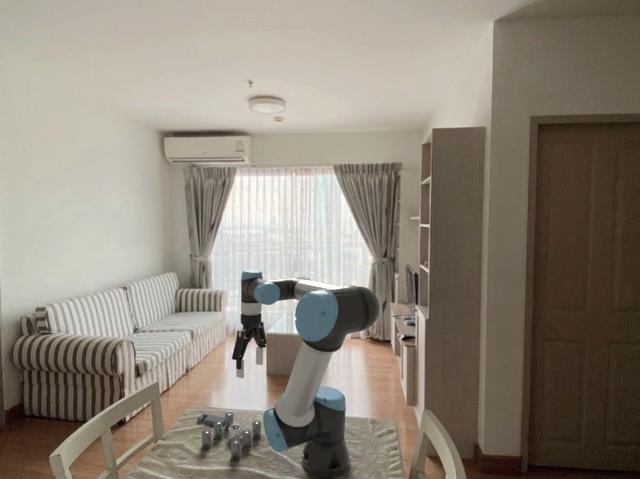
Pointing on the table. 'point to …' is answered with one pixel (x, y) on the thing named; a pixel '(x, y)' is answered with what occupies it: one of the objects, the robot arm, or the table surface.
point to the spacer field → (235, 443)
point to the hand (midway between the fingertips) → (250, 370)
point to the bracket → (210, 419)
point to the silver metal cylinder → (235, 432)
